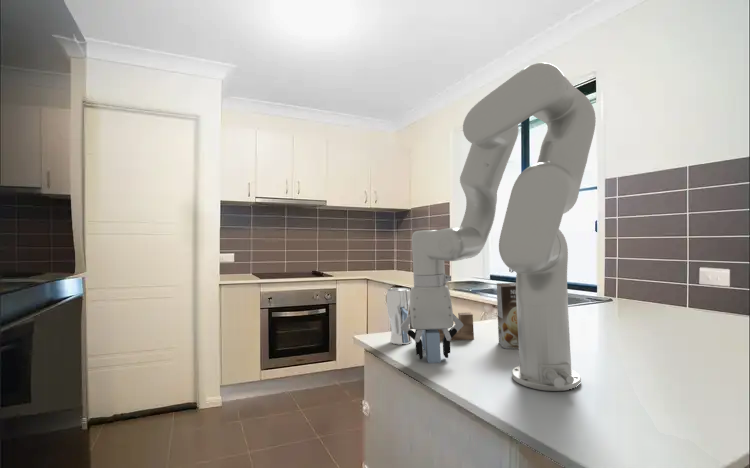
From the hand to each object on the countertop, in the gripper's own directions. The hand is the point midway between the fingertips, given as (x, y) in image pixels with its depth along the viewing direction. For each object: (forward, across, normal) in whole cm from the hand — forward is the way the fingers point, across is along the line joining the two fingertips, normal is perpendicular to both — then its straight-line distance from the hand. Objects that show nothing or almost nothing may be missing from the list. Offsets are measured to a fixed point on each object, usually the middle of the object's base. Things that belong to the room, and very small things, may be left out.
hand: (433, 356), depth 93 cm
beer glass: (+1, +7, -17) cm, 18 cm away
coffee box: (+1, -24, -9) cm, 25 cm away
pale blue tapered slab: (+1, 0, -6) cm, 6 cm away
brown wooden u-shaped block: (+1, -8, -18) cm, 20 cm away
